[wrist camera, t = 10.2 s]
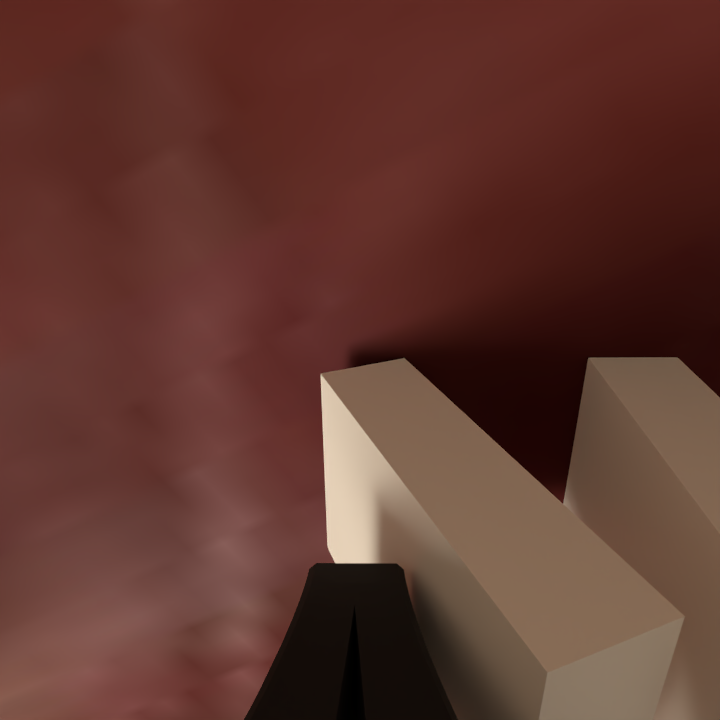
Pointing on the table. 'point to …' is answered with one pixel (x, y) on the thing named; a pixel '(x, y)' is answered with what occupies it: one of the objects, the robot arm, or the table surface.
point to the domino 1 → (487, 558)
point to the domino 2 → (658, 503)
